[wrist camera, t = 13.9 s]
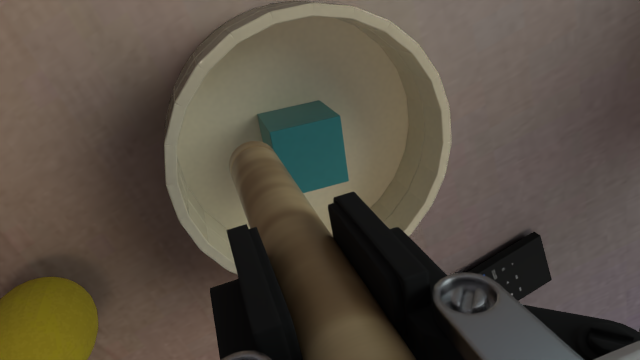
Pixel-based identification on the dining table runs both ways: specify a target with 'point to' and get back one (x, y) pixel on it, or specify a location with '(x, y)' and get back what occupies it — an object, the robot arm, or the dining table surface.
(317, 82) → the bowl
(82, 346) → the lemon
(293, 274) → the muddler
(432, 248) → the dining table surface
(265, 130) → the block
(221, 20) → the dining table surface
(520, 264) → the remote control
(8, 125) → the dining table surface
